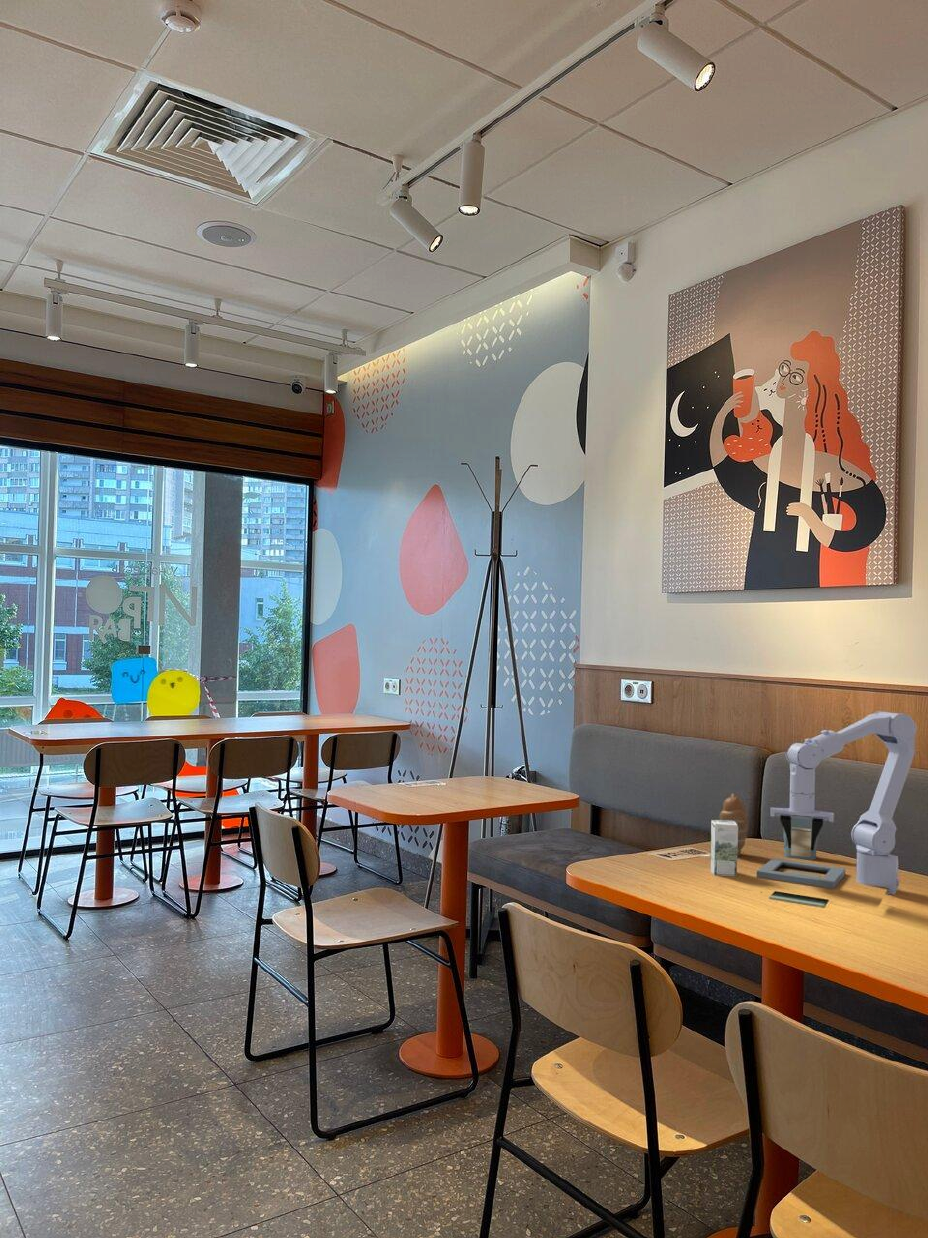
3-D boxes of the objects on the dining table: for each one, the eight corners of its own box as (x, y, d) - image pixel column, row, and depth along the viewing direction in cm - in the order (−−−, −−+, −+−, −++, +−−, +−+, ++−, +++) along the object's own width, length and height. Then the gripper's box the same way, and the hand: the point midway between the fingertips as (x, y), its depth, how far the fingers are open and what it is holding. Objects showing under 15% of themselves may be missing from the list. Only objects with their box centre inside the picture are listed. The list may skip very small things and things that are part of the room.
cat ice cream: (751, 863, 248) (752, 797, 249) (722, 862, 248) (723, 796, 249) (742, 856, 257) (743, 792, 258) (714, 855, 257) (715, 791, 258)
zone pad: (830, 897, 215) (830, 896, 215) (823, 907, 206) (823, 905, 206) (778, 889, 221) (778, 888, 221) (769, 898, 213) (769, 896, 213)
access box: (845, 880, 233) (845, 868, 233) (833, 895, 217) (833, 882, 217) (772, 869, 242) (773, 858, 242) (756, 883, 227) (756, 871, 227)
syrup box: (732, 876, 233) (733, 820, 233) (737, 882, 227) (738, 824, 227) (709, 875, 233) (711, 819, 234) (713, 881, 227) (715, 823, 228)
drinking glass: (775, 853, 262) (775, 811, 263) (807, 853, 264) (807, 811, 265) (793, 861, 253) (794, 818, 253) (827, 861, 254) (827, 818, 255)
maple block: (810, 853, 224) (811, 829, 224) (810, 857, 219) (811, 832, 220) (791, 851, 225) (791, 827, 225) (790, 855, 221) (791, 830, 221)
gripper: (833, 793, 224) (832, 848, 223) (771, 788, 229) (770, 842, 228) (834, 797, 217) (833, 854, 217) (770, 791, 222) (769, 847, 222)
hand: (801, 848), depth 222 cm, fingers closed on maple block, 4 cm apart
